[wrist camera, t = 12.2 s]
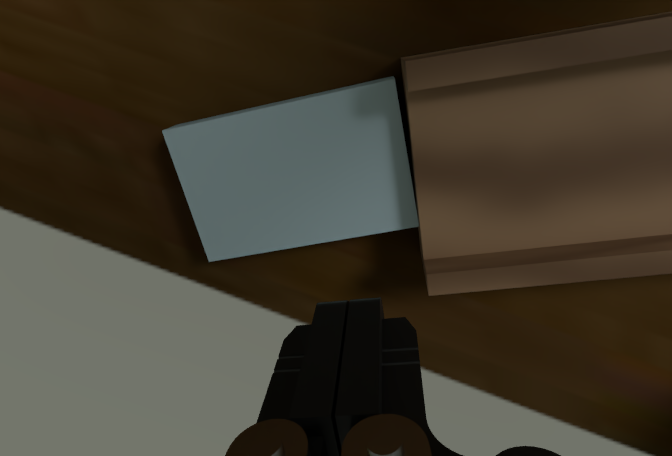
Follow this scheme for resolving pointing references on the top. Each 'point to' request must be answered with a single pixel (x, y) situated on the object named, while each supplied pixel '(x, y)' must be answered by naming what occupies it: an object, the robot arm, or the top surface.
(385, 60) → the top surface
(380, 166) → the lid
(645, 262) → the box
